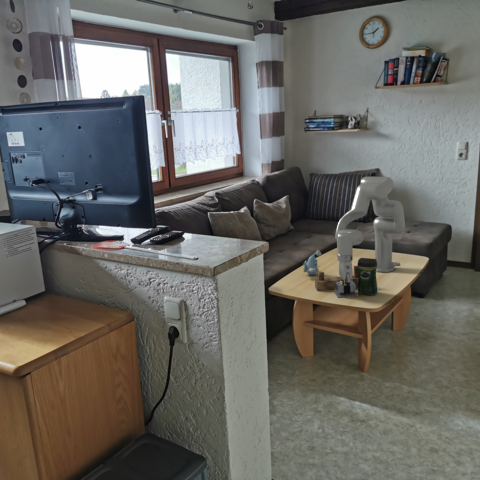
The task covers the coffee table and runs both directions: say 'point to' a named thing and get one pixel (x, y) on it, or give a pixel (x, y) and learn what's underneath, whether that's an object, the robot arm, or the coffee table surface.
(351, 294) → the mat
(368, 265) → the coffee jar
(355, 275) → the brown long u-shaped block
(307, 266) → the toy figure
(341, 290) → the lever cap
